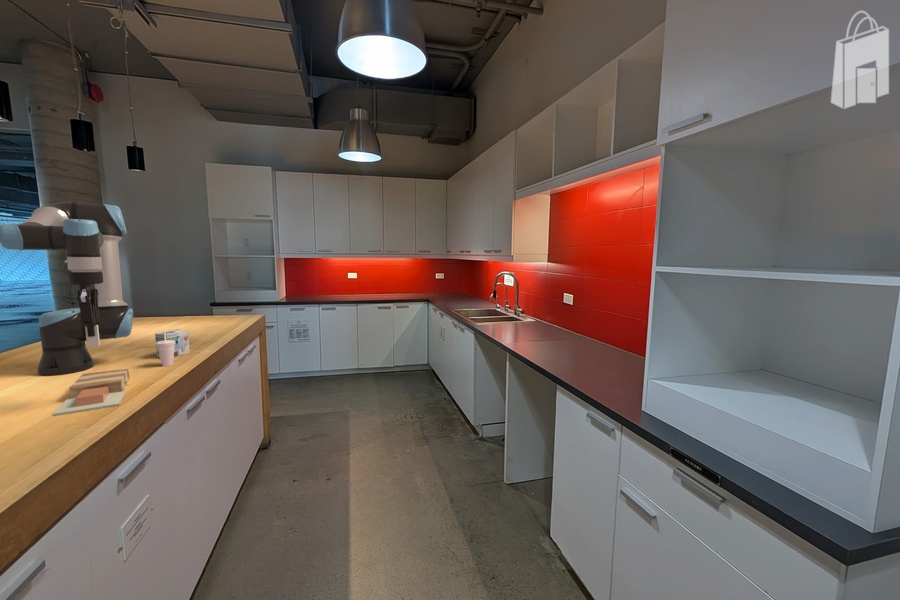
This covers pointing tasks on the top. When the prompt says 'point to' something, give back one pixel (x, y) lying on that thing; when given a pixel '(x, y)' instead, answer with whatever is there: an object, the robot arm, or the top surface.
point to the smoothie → (166, 351)
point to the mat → (70, 404)
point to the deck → (101, 381)
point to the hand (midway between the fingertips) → (93, 345)
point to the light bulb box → (176, 341)
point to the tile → (92, 396)
